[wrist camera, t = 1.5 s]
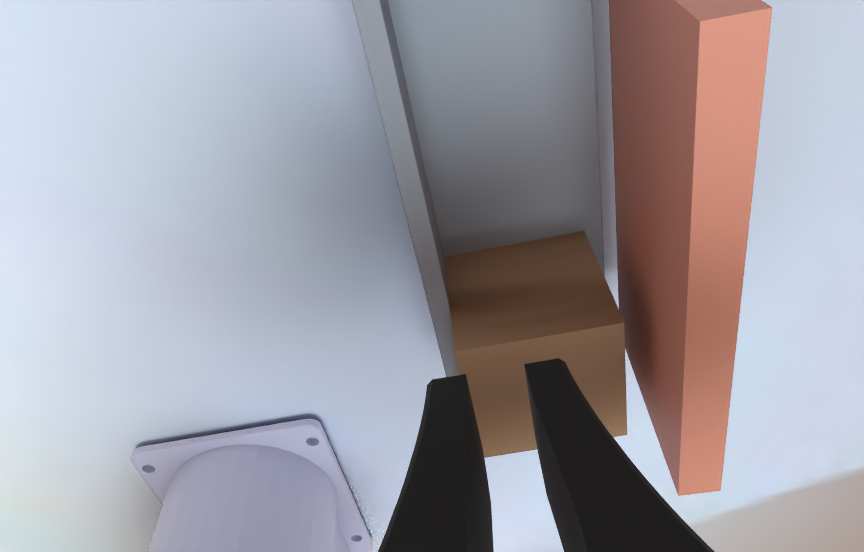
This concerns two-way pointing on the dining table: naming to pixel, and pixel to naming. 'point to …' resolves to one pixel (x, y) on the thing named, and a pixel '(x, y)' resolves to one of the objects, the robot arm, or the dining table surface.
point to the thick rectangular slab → (685, 209)
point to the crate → (534, 333)
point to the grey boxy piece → (486, 126)
